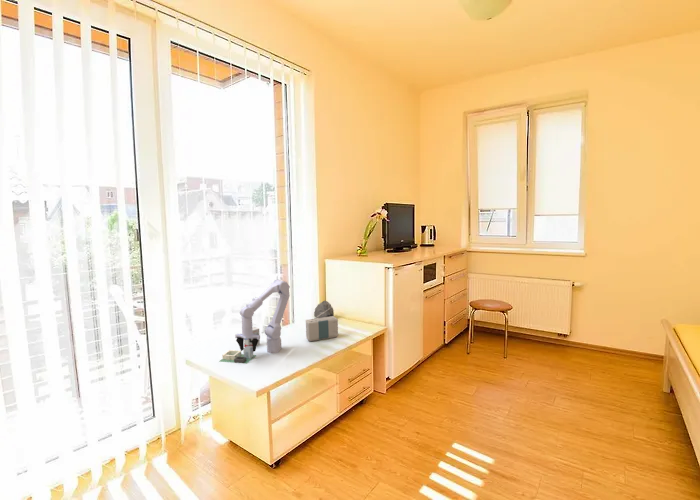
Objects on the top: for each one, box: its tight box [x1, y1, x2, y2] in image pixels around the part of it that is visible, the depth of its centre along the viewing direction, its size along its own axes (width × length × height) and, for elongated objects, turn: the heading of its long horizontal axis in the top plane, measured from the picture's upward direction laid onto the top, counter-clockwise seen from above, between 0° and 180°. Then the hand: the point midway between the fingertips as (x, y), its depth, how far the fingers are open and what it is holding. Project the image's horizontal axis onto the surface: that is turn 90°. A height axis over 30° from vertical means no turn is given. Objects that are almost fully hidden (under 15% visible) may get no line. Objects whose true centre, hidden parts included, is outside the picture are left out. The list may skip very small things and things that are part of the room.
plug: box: [242, 346, 254, 359], centre depth 208 cm, size 4×4×6 cm
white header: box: [221, 349, 242, 360], centre depth 209 cm, size 8×8×2 cm
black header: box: [233, 356, 246, 364], centre depth 203 cm, size 5×4×2 cm
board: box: [218, 353, 257, 364], centre depth 208 cm, size 12×17×1 cm
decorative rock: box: [313, 300, 335, 318], centre depth 285 cm, size 16×7×15 cm, turn 62°
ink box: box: [244, 326, 261, 348], centre depth 227 cm, size 9×5×12 cm, turn 137°
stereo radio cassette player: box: [305, 306, 339, 342], centre depth 241 cm, size 21×8×20 cm, turn 114°
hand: (248, 350), depth 208 cm, fingers open, 7 cm apart
